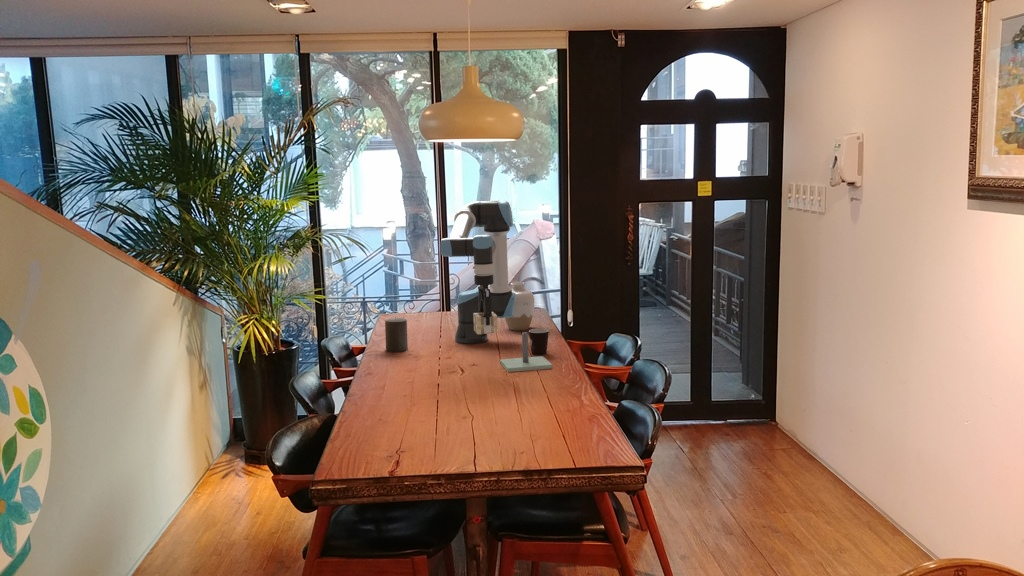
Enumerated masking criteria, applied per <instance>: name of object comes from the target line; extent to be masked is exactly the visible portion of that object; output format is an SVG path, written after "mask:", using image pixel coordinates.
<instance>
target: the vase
mask: <svg viewBox="0 0 1024 576" xmlns="http://www.w3.org/2000/svg"><path fill="white" fill-rule="evenodd" d="M525 285H526V282H523V281H522V282H521V281H515V282H514V281H513V282H511V283H510V287H511V288H512V292H514V293H515V304H514V311H513V315H512V316H511V317H509V318H504V319H505V322H506V324H507V327H508V329H509V330H510V331H517V332H518V331H527V330H530V329H529V328H530V326H531V324H532V322H533V316H534V311H535V297H534V294H533V292H532V291H531V290H529V289H527V288H525Z"/></svg>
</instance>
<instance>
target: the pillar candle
mask: <svg viewBox="0 0 1024 576" xmlns="http://www.w3.org/2000/svg"><path fill="white" fill-rule="evenodd" d="M384 322H385V323H384V327H385V329H384V331H385V332H384V334H385V335H384V336H385V351H386V352H387V353H388V352H389V353H400V352H401V353H402V352H405V351H408V348H409V347H408V346H409V345H408V344H409V343H408V342H409V341H408V321H407V318H404V317H403V318H402V317H396V316H394V317H393V318H392V317H391V318H387V319H385V320H384Z"/></svg>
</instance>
